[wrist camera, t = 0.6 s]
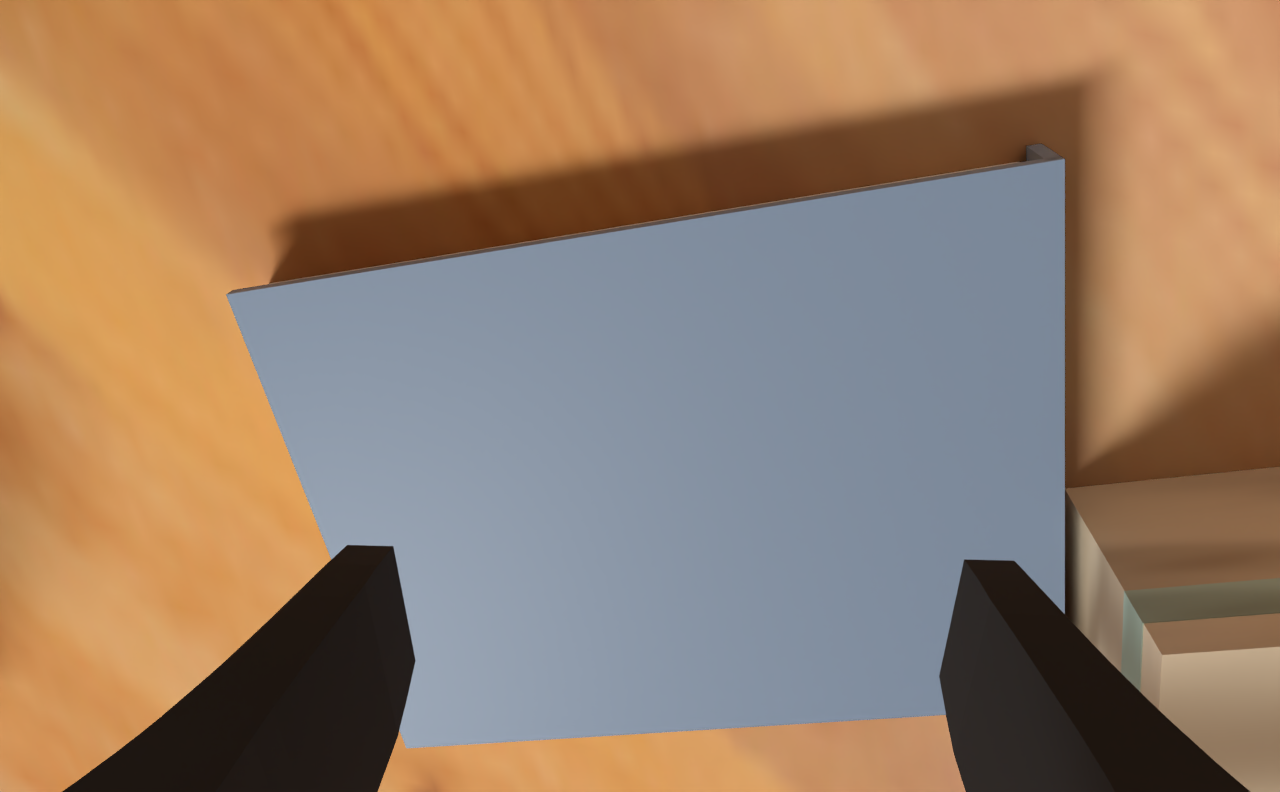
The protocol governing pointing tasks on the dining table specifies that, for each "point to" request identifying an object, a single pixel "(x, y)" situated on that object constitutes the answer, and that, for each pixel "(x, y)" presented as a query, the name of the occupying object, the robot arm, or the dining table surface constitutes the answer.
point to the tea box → (1188, 604)
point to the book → (690, 451)
